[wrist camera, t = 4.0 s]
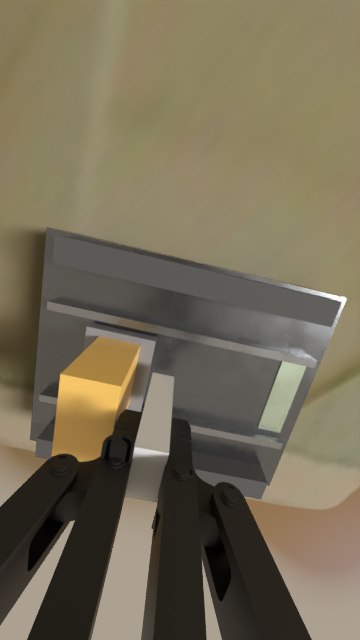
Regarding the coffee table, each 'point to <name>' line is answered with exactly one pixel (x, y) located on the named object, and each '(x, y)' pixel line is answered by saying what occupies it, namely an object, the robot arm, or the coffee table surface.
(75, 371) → the handle
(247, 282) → the pair of guide rails
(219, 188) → the coffee table surface
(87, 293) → the grey rail base
